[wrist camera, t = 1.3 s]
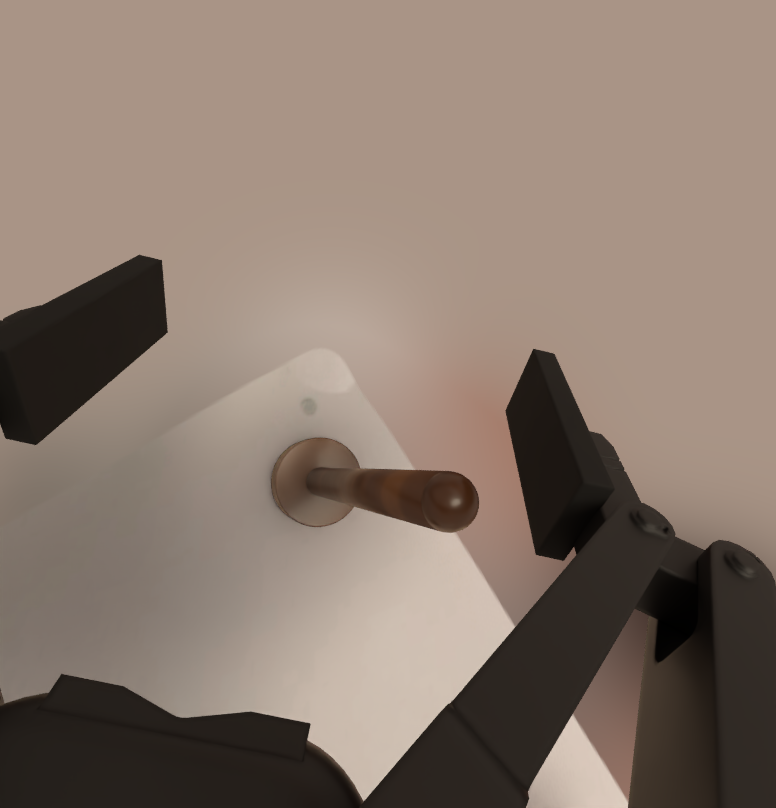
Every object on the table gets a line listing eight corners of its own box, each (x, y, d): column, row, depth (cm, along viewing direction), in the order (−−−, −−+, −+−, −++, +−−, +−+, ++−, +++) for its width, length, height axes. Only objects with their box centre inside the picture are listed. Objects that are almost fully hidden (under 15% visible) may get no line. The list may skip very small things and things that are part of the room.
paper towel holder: (255, 465, 29) (332, 468, 11) (328, 424, 31) (490, 372, 13) (297, 539, 29) (435, 654, 12) (367, 494, 32) (572, 532, 14)
